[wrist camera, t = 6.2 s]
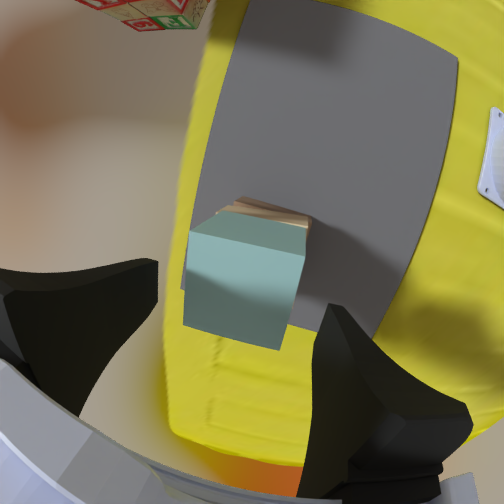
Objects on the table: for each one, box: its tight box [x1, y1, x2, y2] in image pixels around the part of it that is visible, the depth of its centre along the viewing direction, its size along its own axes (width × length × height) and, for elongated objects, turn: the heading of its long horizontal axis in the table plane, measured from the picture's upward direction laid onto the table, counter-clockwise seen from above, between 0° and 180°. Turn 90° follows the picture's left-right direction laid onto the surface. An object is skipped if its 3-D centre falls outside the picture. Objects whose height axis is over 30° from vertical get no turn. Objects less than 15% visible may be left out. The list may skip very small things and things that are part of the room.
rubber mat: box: [180, 0, 458, 339], centre depth 17 cm, size 17×26×1 cm, turn 166°
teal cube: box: [183, 211, 306, 351], centre depth 13 cm, size 4×4×4 cm
